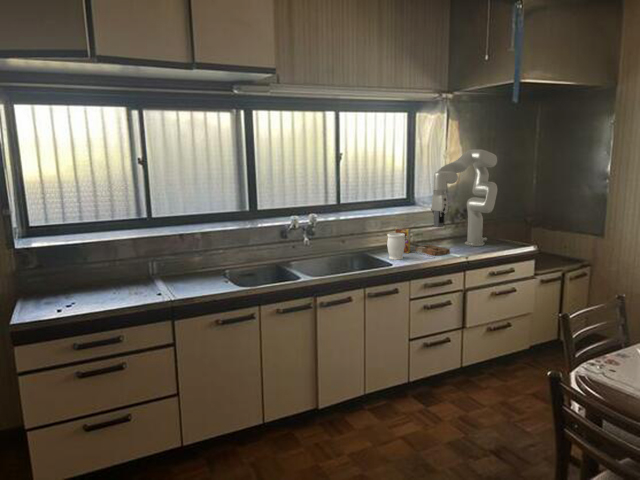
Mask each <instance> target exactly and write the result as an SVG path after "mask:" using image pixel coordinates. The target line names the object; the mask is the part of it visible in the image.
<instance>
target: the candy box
mask: <svg viewBox="0 0 640 480" xmlns="http://www.w3.org/2000/svg"><path fill="white" fill-rule="evenodd" d="M394 233H403V234H405V236H404V240H405V247H404V253H403V254H410V253H411V228H402V227H396V228H395V230H394Z"/></svg>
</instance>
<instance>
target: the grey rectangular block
mask: <svg viewBox="0 0 640 480" xmlns="http://www.w3.org/2000/svg"><path fill="white" fill-rule="evenodd" d="M439 216H440V211H436V210H434V215H433V227H435V228H441V227H444V223H439Z"/></svg>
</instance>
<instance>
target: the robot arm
mask: <svg viewBox="0 0 640 480" xmlns="http://www.w3.org/2000/svg"><path fill="white" fill-rule="evenodd" d="M497 163H498V157H497V155H496V154H494V153H493V152H490V151H489V150H484V149H468V150H467V151H465V152H464V153H463V154H462V155H461V156H459V157H458V158H457V159H456V160H454V161H452V162H449V163H447V164H445V165H443V166H442V167H440V168H439V169H438V170H437V171H436V172H434V174H433V194H432V197H431V208H430V211H431V212H432V215H433V216H434V210H436V211H440V216H439V223H443V224H444V222H445V220H444V219H445V217H446V214H447V213H448V212H449V209H448V208H449V206H448V203H449V202H448V201H449V200H448V195H447V184H448V185H449V184H451V185H452V184H455V183H457V181H458V180H459V176H458V174H459V173H463V172H465V171H467V170H468V169H469V168H470V167H471V166H473V169H474V171H475V176H474V180H473V185H472V194H473V195H474V196H475V197H473V196H472V197H470V198H469V199H467V201H466V210H467V239H466V241H465V242H464V245H465V246H470V247H482V246H485V242H484V241H487V240H488V238H487V237H483V231H484V230H483V229H484V227H483V225H484V218H483V214H482V213H485V214H489V213H492V212H493V210H494V208H495V204H496V199H497V195H498V185H497V184H496V183H495V182H493V181H489V178H490V177H489V176H490V174H489V170H488V168H493V167H495V166H496V165H497ZM476 196H477V197H476ZM479 196H480V197H479Z"/></svg>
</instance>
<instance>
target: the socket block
mask: <svg viewBox="0 0 640 480" xmlns="http://www.w3.org/2000/svg"><path fill="white" fill-rule="evenodd" d="M442 247H443V246H436V245H432V244H425V245H420V246H415V248H414V250H415V253H416V254H420V255H424V256H427V257H431V258H434V259H435V258H436V257H437V256H443V255H444V256H445V255H448V254H450V251H451V248H450V249H446V248H447V247H446V248H442Z"/></svg>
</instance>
